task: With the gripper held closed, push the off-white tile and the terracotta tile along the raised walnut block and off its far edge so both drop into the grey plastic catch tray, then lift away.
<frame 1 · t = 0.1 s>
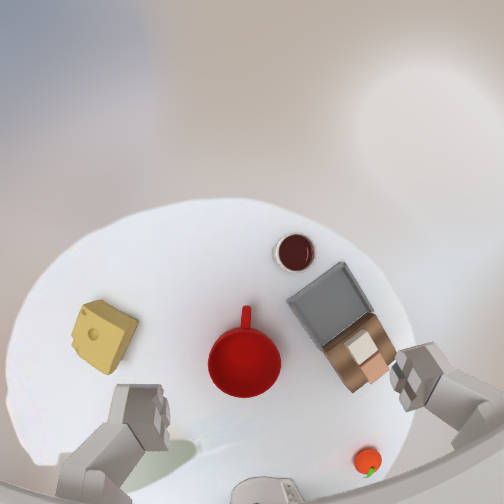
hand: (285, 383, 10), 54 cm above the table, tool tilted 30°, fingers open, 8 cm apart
cheese: (111, 329, 62), on the table
walnut block: (357, 350, 66), on the table
ceramic cup: (242, 341, 64), on the table
catch tray: (329, 305, 65), on the table
wineglass: (283, 254, 65), on the table
tile b: (370, 365, 62), point 4 cm above the table, touching walnut block
clementine: (362, 456, 66), on the table
tile a: (358, 345, 62), point 4 cm above the table, touching walnut block
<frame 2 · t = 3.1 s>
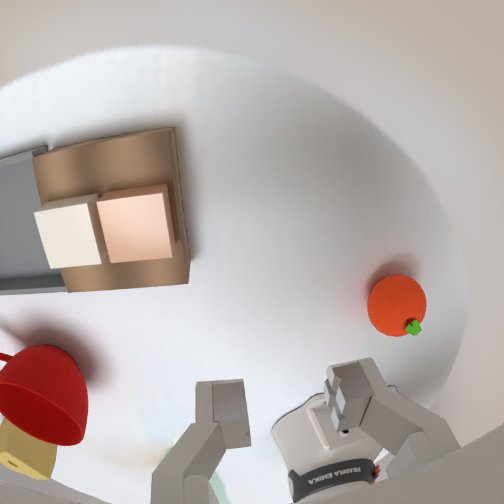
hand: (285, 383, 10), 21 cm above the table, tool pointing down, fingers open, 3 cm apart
cheese: (29, 427, 44), on the table
walnut block: (119, 205, 28), on the table
ceramic cup: (44, 354, 35), on the table
catch tray: (15, 222, 27), on the table
tile b: (140, 217, 24), point 4 cm above the table, touching walnut block
clementine: (385, 290, 36), on the table
tile a: (77, 225, 24), point 4 cm above the table, touching walnut block
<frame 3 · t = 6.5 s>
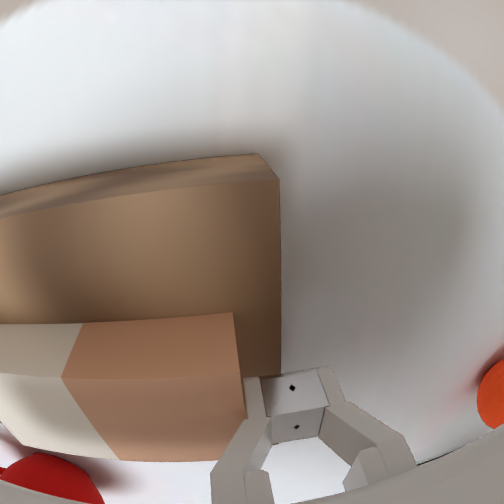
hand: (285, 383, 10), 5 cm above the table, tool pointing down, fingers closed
walnut block: (136, 310, 14), on the table
ceramic cup: (43, 459, 22), on the table
tile b: (169, 372, 11), point 4 cm above the table, touching gripper, tile a
clementine: (491, 370, 22), on the table
tile a: (54, 372, 10), point 4 cm above the table, touching tile b
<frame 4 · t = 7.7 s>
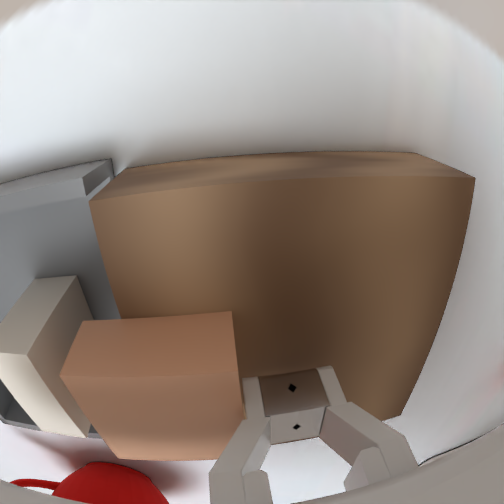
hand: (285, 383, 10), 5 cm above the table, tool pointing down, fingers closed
walnut block: (283, 296, 15), on the table
ceramic cup: (98, 467, 22), on the table
catch tray: (38, 314, 14), on the table
tile b: (168, 370, 11), point 4 cm above the table
tile a: (77, 357, 11), point 3 cm above the table, tilted 92°, touching catch tray
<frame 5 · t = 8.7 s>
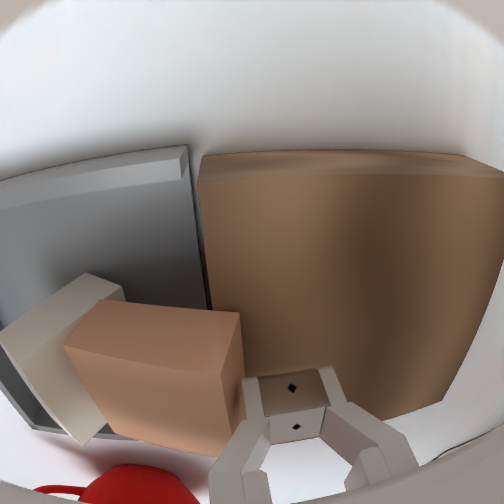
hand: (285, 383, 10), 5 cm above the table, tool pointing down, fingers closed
walnut block: (345, 287, 15), on the table
ceramic cup: (125, 470, 22), on the table
catch tray: (83, 311, 14), on the table
tile b: (176, 360, 11), point 4 cm above the table, tilted 16°, touching gripper
tile a: (97, 372, 10), point 4 cm above the table, tilted 124°, touching catch tray
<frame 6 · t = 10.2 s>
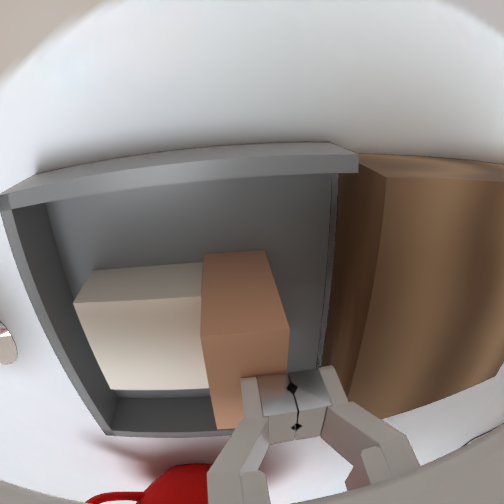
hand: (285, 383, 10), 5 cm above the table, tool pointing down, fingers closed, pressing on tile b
walnut block: (429, 275, 16), on the table
ceramic cup: (181, 470, 23), on the table
catch tray: (190, 303, 15), on the table
tile b: (273, 336, 12), point 3 cm above the table, tilted 90°, touching catch tray, gripper, tile a
tile a: (147, 351, 12), point 3 cm above the table, tilted 180°, touching catch tray, tile b
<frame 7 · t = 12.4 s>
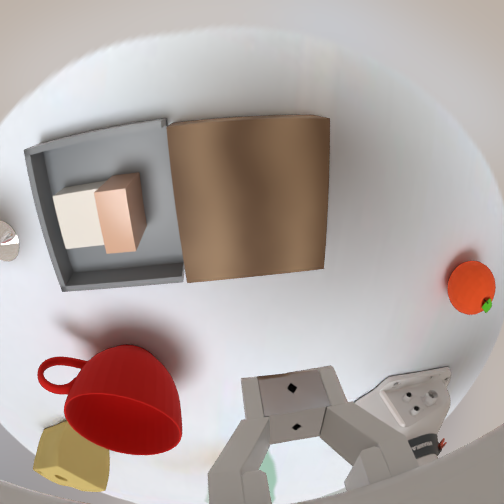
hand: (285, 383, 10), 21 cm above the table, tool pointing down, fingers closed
cheese: (75, 436, 44), on the table
walnut block: (248, 189, 28), on the table
ceramic cup: (118, 355, 36), on the table
catch tray: (109, 204, 27), on the table
wineglass: (3, 240, 27), on the table
tile b: (137, 209, 24), point 3 cm above the table, tilted 90°, touching catch tray
clementine: (457, 275, 37), on the table
tile a: (83, 219, 24), point 3 cm above the table, tilted 180°, touching catch tray
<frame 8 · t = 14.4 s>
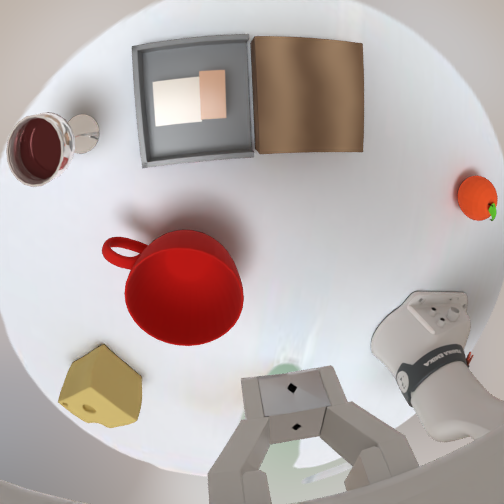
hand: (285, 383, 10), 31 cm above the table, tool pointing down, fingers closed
cheese: (106, 368, 50), on the table
walnut block: (303, 94, 34), on the table
ceramic cup: (175, 250, 42), on the table
catch tray: (194, 99, 33), on the table
wineglass: (81, 133, 33), on the table
tile b: (224, 94, 31), point 3 cm above the table, tilted 90°, touching catch tray
clementine: (464, 192, 43), on the table
tile a: (177, 101, 30), point 3 cm above the table, tilted 180°, touching catch tray
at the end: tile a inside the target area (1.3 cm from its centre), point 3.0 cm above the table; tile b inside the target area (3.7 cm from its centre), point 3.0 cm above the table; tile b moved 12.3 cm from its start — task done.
